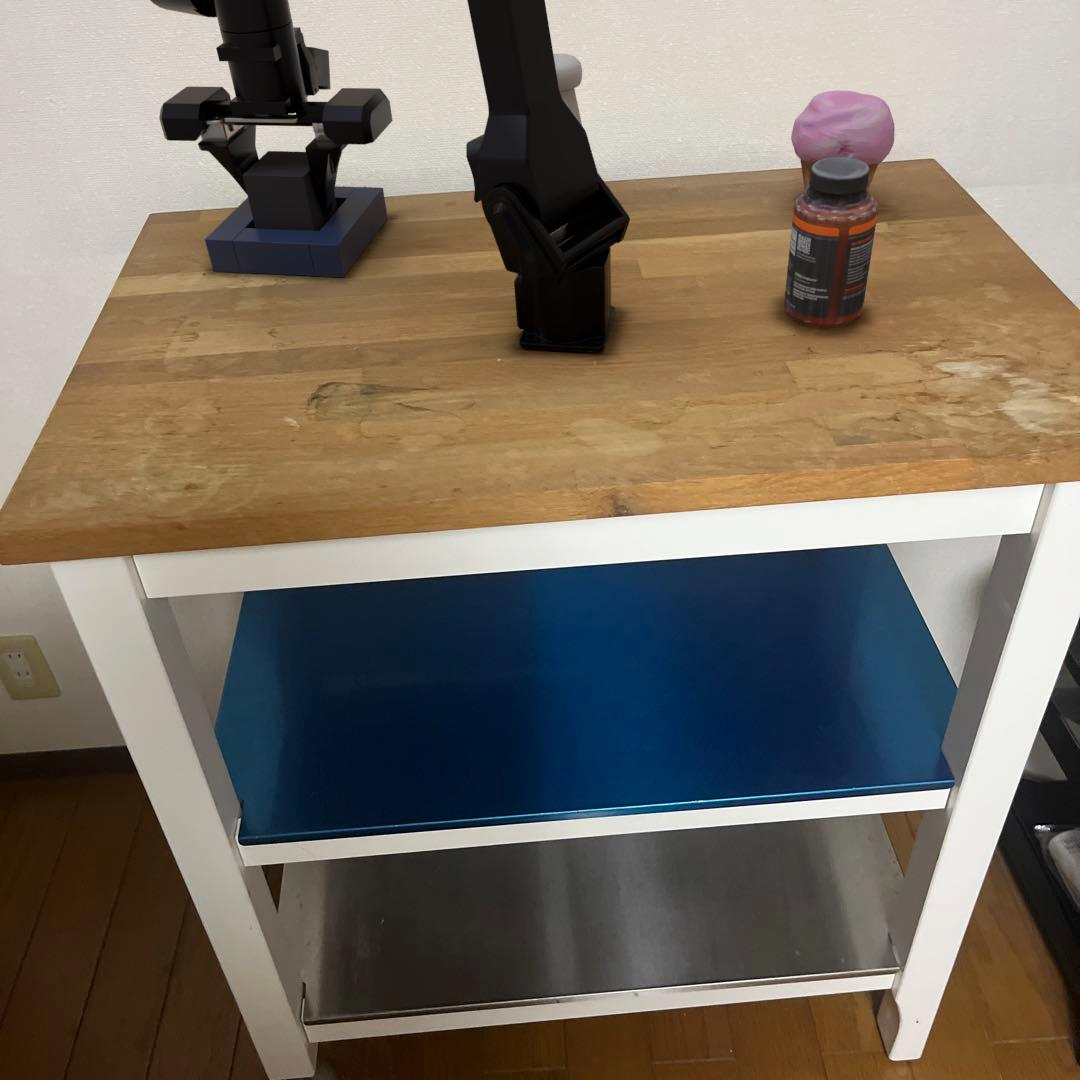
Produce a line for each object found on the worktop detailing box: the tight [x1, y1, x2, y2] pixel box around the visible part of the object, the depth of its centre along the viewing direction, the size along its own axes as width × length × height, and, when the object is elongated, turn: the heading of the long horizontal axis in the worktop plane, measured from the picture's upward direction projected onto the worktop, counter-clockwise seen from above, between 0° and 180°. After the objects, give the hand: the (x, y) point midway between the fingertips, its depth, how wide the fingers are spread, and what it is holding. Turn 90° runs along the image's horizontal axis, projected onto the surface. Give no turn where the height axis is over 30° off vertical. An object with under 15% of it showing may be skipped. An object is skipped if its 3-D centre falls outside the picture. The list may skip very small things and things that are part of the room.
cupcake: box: [790, 90, 896, 192], centre depth 91 cm, size 9×9×10 cm
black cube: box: [243, 150, 338, 231], centre depth 91 cm, size 6×6×6 cm
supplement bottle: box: [783, 157, 879, 328], centre depth 76 cm, size 6×6×11 cm
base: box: [204, 185, 389, 278], centre depth 93 cm, size 12×12×3 cm
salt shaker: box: [553, 53, 583, 126], centre depth 94 cm, size 6×6×13 cm
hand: (296, 212), depth 92 cm, fingers closed on black cube, 5 cm apart
